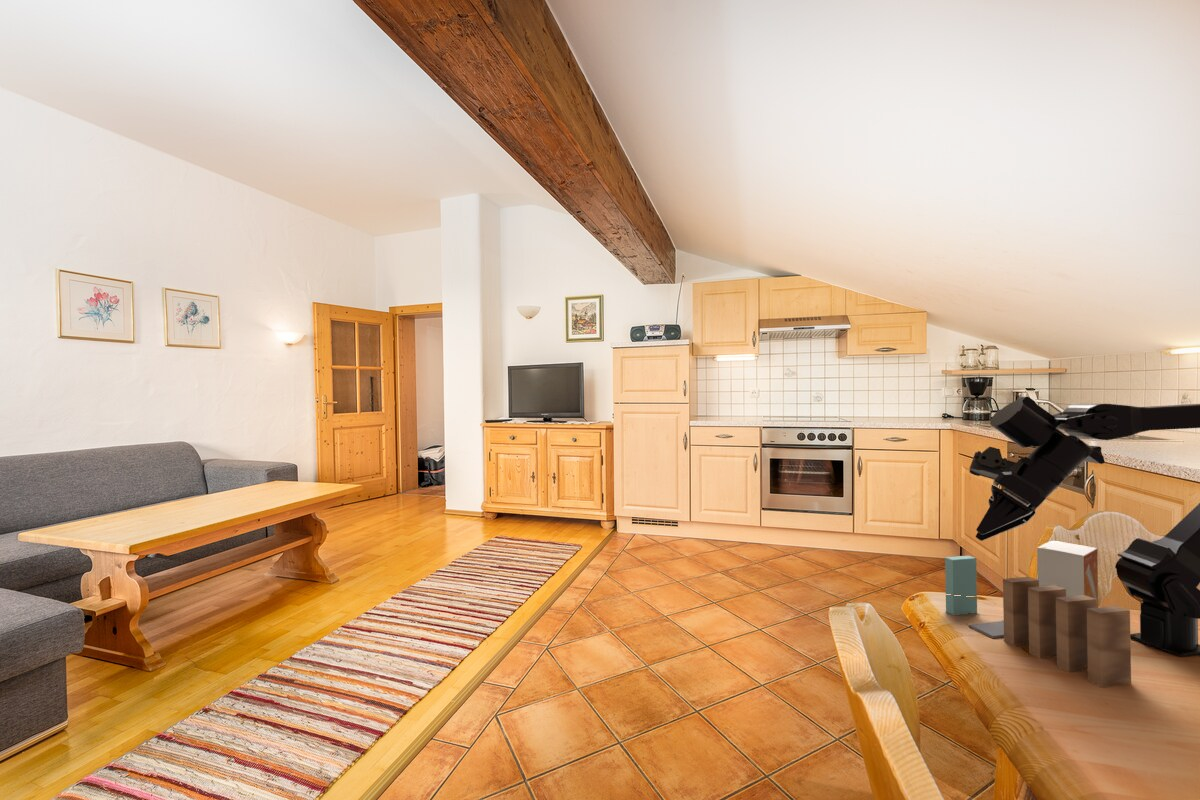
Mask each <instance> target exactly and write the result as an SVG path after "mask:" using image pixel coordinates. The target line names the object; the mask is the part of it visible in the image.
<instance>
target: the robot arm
mask: <svg viewBox="0 0 1200 800" xmlns="http://www.w3.org/2000/svg"><path fill="white" fill-rule="evenodd" d="M989 424H990V426H992V428H993V429H996V430H997V431H998V432H999V433H1001V434H1002V435H1003V436H1005V437H1006V438H1008V439H1009V440H1011V441H1012V442H1013V443H1014V444H1016V445H1017V446H1019V447H1020V448H1028V447H1031V448H1034V449H1033V450H1032V452H1030V453H1029V454H1028V455H1027V456H1025V457H1020V458H1019V459H1018V461H1016V462H1014V461H1012V460H1008V458H1006V457H1004V458H1003V456H1002V452H1001V449H1000V448H997V447H995V446H994V447H993V446H988V447H987V448H985V450H983V451H982V452H981V451H980V450H978V451H975V452H974V455H973V458H972V459H971V460H972V461H971V463H970V466H969V471H968V473H970V474H971V475H974V476H976V477H980V476H981V477H984V478H988V479H991V480H993V481H992V485H991V488H990V491H991V492H990V493H991V496H990V497H989V498H988V505H989V508H988V509H987V510H986V512H985V514H984V516H983V517H982V519H981V521H980V523H979V525H978V526H977V528H976V529H975V530H976V534H975V539H978V540H979V541H980V542H983V541H985V540H988V539H990V538H992V537H995V536H998V535H1000V534H1003V533H1005V532H1007V531H1011V530H1013V529H1015V528H1018V527H1021V526H1023V525H1025V524H1027V523H1028V522H1029V521H1030V520H1031V519H1032V518H1033V517H1034V516H1035V514H1036V510H1037V509H1038V508H1040V506H1041V505H1042V504H1043V503H1044V502H1045V500H1046V499H1047V498H1048V497H1049V496H1050V495H1052V493H1053V492H1055V491H1056V490H1057V489H1058V488H1059V487H1060V486H1061V485H1062V483H1063V482H1064V481H1065V480H1066V479H1067V478H1068V477H1069V476H1070V475H1071V474H1072V473H1073V472H1074V471H1075V470H1076V469H1077V468H1078V467H1079V466H1080V465H1081V464H1082V463H1083V462H1084V461H1085V462H1086V463H1087V462H1088V463H1093V464H1099V465H1103V464H1105V457H1104V455H1103V453H1102V446H1099V445H1098V446H1097V445H1089V444H1088V443H1086V442H1085V441H1083V440H1082V439H1092V440H1101V441H1103V440H1104V441H1109V440H1110V441H1112V440H1116V439H1121V438H1127V437H1131V436H1134V435H1137V434H1140V433H1144V432H1148V431H1164V430H1185V429H1187V430H1188V429H1200V403H1189V404H1188V403H1187V404H1171V405H1170V404H1169V405H1154V406H1153V405H1151V406H1134V405H1126V404H1115V403H1114V404H1113V403H1073V404H1069V405H1068V406H1067V407H1066V408H1065V409H1064V410H1063V412H1057V413H1052V414H1051V413H1050V412H1048V411H1047V410H1046V409H1044V408H1043V407H1041V406H1040V405H1039V404H1038V403H1037V402H1036V401H1035V400H1034V399H1033V398H1031V397H1029V396H1019V397H1018V398H1017V399H1016V400H1014V401H1012V402H1010V403H1008V404H1007V405H1005V406H1004V407H1002V408H1001V409H998V410H997V411H996V412H995V413H994V414H993V415H992V417H991V419H990V422H989ZM1060 430H1061V431H1060ZM1062 430H1063V431H1064V432H1065V433H1063V432H1062ZM998 486H1001V487H1003V488H999V487H998ZM1117 556H1118V557H1120V558H1119V559H1118V560H1117V562H1116V563H1115V565H1114V566H1115V569H1116V575H1117V577H1118V580H1120V582H1122V583H1123V585H1124V586H1125V588H1126V589H1127V592H1128V594H1129V595H1130V596H1132V597H1135V598H1138V599H1140V600H1141V602H1140V608H1139V609H1140V614H1139V632H1135V633H1130V639H1133V640H1135V641H1139V642H1141V643H1144V644H1146V645H1149V646H1151V647H1154V648H1157V649H1160V650H1163V651H1165V652H1167V653H1169V654H1172V655H1174V656H1178V657H1179V656H1180V657H1185V656H1186V657H1187V656H1193V655H1200V644H1199V623H1198V622H1199V620H1200V589H1199V588H1198V586H1199V585H1200V502H1199V503H1198V504H1197V505H1196V506H1195V507H1194V508H1192V509H1191V511H1190V512H1188V513H1187V514H1186V515H1185V516H1184V517H1183V518H1182V519H1181V520H1180V521H1179V522H1178V523H1177V524H1176V525H1175V526H1174V527H1173V528H1172V529H1171V530H1170V531H1168V533H1167V534H1165V535H1164V537H1163V536H1162V538H1160V539H1155V540H1153V541H1149V540H1146V539H1143V538H1140V537H1139V538H1138V537H1137V538H1135V539H1134V540H1133V541H1132V542H1131V543H1130V544H1129V546H1128V547H1127V548H1126V549H1125V550H1123V551H1122V552H1119V553H1117Z"/></svg>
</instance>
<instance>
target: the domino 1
mask: <svg viewBox="0 0 1200 800" xmlns="http://www.w3.org/2000/svg"><path fill="white" fill-rule="evenodd" d="M944 565H945V566H944V571H945V572H944V573H945V612H946V613H947V614H950V615H952V616H959V615H960V614H962V615H969V614H968V613H972V614H977V613H978V591H977V590H978V589H977V587H978V585H977V578H978V577H977V576H978V575H977V574H978V573H977V557H974V556H971V555H959V556H958V555H957V556H947V557H946V556H944ZM946 594H951V595H946ZM954 595H961V596H954ZM966 596H977V597H966ZM960 616H961V615H960Z"/></svg>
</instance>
